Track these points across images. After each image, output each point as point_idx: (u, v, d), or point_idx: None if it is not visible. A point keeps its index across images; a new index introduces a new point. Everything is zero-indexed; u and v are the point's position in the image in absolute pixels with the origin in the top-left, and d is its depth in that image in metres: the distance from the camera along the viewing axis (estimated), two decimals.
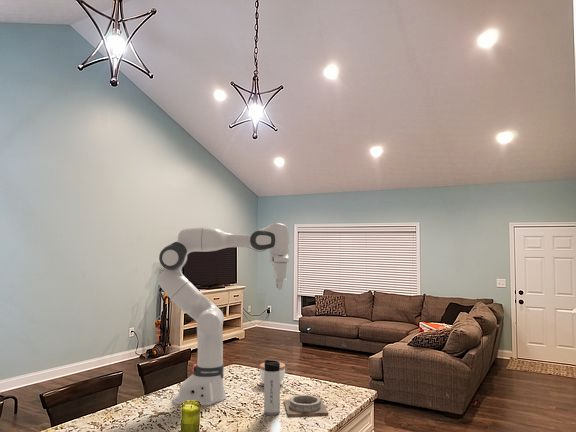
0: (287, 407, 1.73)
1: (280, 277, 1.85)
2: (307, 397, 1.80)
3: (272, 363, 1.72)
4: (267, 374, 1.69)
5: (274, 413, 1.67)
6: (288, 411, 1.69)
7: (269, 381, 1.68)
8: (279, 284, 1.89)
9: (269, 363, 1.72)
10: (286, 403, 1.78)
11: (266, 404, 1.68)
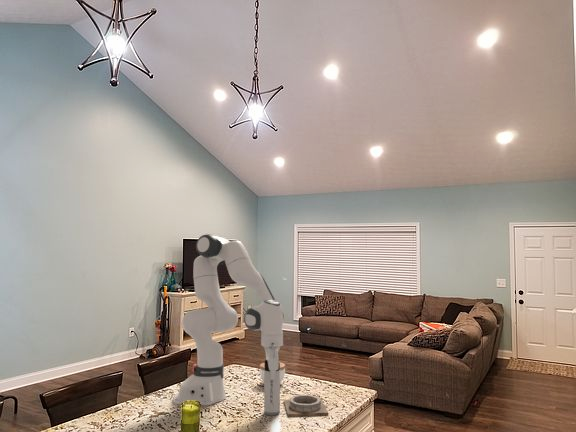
0: (287, 407, 1.73)
1: None
2: (307, 397, 1.80)
3: None
4: (267, 374, 1.69)
5: (274, 413, 1.67)
6: (288, 411, 1.69)
7: (269, 380, 1.68)
8: None
9: None
10: (286, 403, 1.78)
11: (266, 404, 1.68)
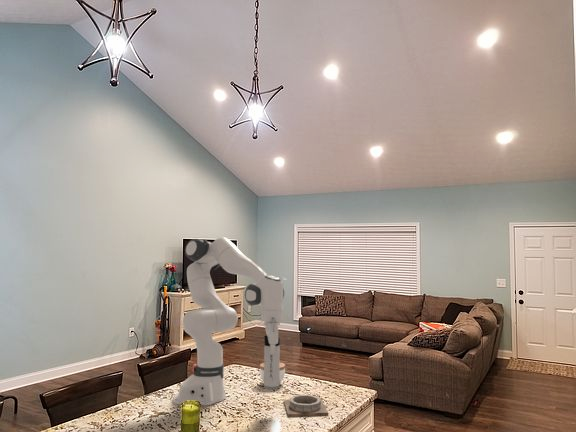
0: (287, 407, 1.73)
1: None
2: (307, 397, 1.80)
3: None
4: (267, 349, 1.70)
5: (274, 387, 1.68)
6: (288, 411, 1.69)
7: (268, 355, 1.69)
8: None
9: None
10: (286, 403, 1.78)
11: (266, 378, 1.69)
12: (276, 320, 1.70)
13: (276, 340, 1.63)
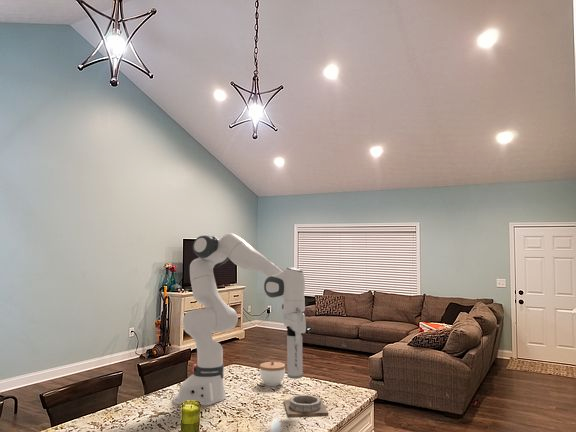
0: (287, 407, 1.73)
1: None
2: (307, 397, 1.80)
3: None
4: (292, 339, 1.73)
5: (299, 376, 1.72)
6: (288, 411, 1.69)
7: (293, 345, 1.72)
8: None
9: None
10: (286, 403, 1.78)
11: (290, 368, 1.72)
12: None
13: (304, 329, 1.67)
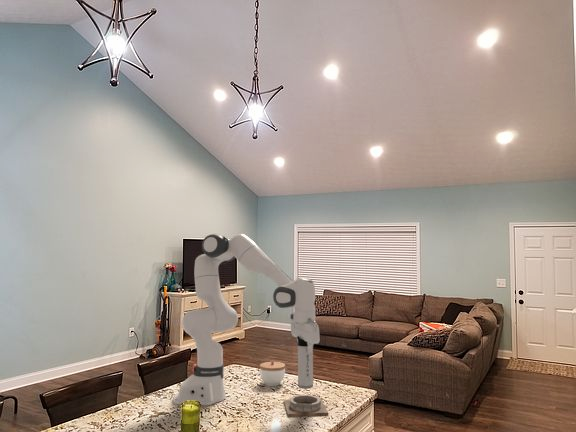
0: (287, 407, 1.73)
1: None
2: (307, 397, 1.80)
3: None
4: (303, 349, 1.74)
5: (310, 386, 1.73)
6: (288, 411, 1.69)
7: (305, 355, 1.73)
8: None
9: None
10: (286, 403, 1.78)
11: (302, 378, 1.73)
12: None
13: (318, 339, 1.69)
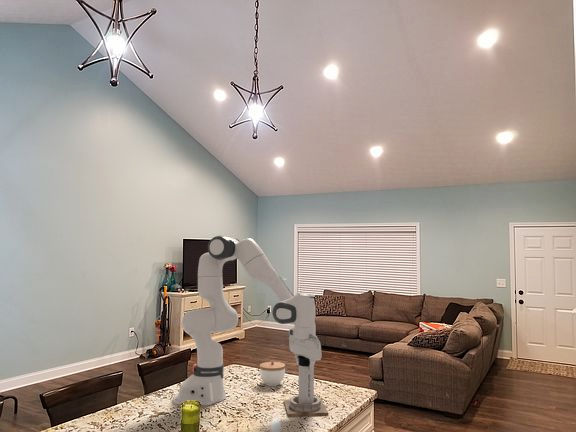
0: (287, 407, 1.73)
1: None
2: None
3: (306, 358, 1.76)
4: (305, 369, 1.72)
5: None
6: (288, 411, 1.69)
7: (306, 375, 1.72)
8: None
9: (303, 358, 1.75)
10: (286, 403, 1.78)
11: (303, 399, 1.72)
12: None
13: (320, 356, 1.68)
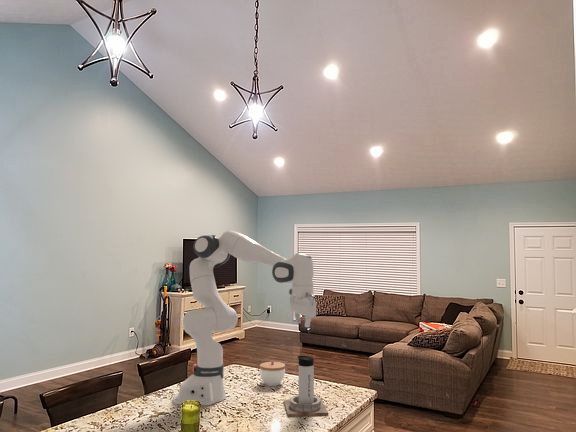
0: (287, 407, 1.73)
1: None
2: None
3: (305, 358, 1.76)
4: (305, 370, 1.72)
5: None
6: (288, 411, 1.69)
7: (306, 375, 1.72)
8: None
9: (303, 358, 1.75)
10: (286, 403, 1.78)
11: (303, 399, 1.72)
12: None
13: (315, 313, 1.71)
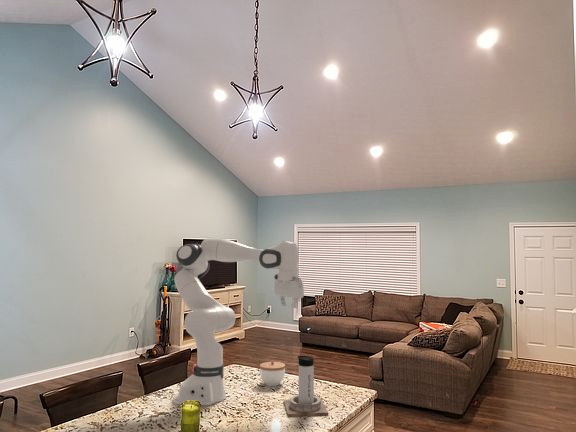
0: (287, 407, 1.73)
1: None
2: None
3: (305, 358, 1.76)
4: (305, 370, 1.72)
5: None
6: (288, 411, 1.69)
7: (306, 375, 1.72)
8: None
9: (303, 358, 1.75)
10: (286, 403, 1.78)
11: (303, 399, 1.72)
12: (296, 279, 1.93)
13: (302, 294, 1.87)
